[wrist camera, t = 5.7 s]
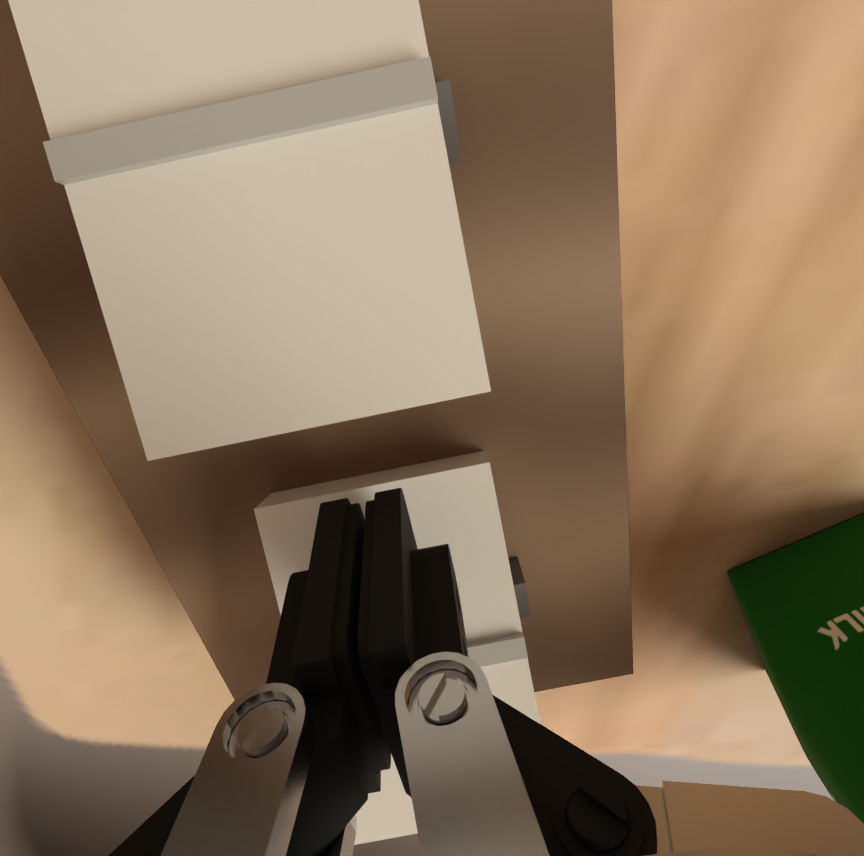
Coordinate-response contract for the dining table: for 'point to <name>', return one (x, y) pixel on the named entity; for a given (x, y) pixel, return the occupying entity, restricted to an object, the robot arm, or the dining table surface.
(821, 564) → the milk carton
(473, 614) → the rocker
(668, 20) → the dining table surface
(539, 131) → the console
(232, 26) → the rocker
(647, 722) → the dining table surface
